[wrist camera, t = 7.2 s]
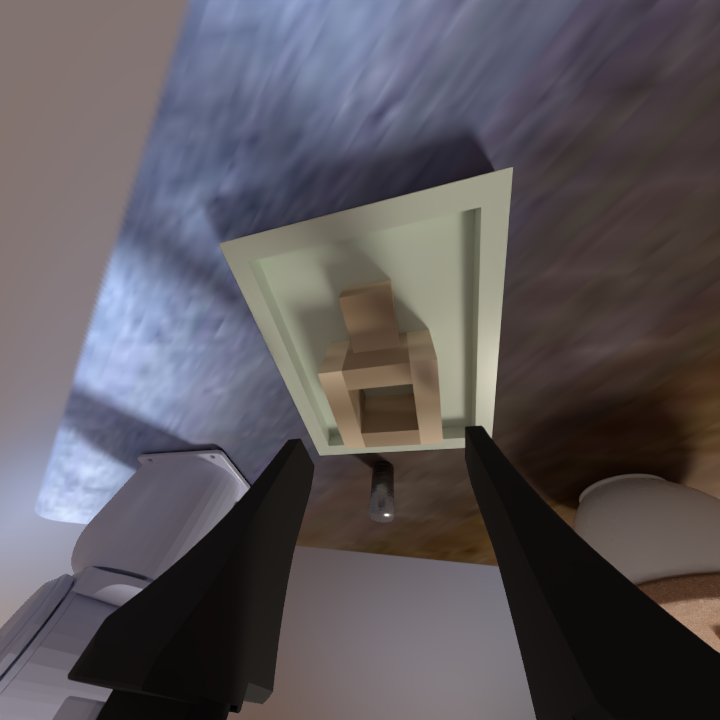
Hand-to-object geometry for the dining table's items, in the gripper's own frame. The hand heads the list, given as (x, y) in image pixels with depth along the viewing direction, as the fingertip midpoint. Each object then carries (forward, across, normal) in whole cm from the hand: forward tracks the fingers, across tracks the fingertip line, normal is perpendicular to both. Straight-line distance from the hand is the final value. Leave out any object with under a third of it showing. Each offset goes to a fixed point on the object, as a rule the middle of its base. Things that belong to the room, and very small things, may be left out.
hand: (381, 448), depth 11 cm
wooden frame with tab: (+5, 0, -2) cm, 6 cm away
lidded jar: (+6, -17, +15) cm, 24 cm away
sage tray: (+6, 0, -2) cm, 6 cm away
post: (+6, +2, +10) cm, 12 cm away
